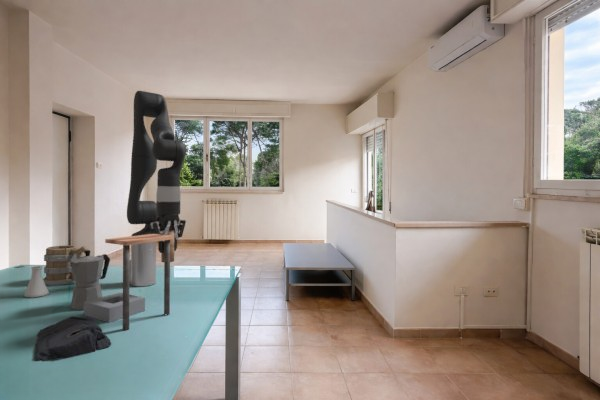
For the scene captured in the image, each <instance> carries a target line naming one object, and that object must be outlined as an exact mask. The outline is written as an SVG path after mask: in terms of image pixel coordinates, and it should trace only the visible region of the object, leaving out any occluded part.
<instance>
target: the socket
mask: <svg viewBox="0 0 600 400" xmlns="http://www.w3.org/2000/svg"><path fill="white" fill-rule="evenodd" d="M145 311H146V298H145V297H141V296H137V295H134V294H129V317H130V316H133V315H136V314H139V313H142V312H145ZM83 316H84V317H92V318H93V319H96V320H100V321H103V322H106V323H112V322H114V321H115V322H116V321H118V320H121V319H123V292H116V293H112V294H109V295H105V296H102V297H101V298H97V299H93V300H89V301H85V302H84V310H83Z"/></svg>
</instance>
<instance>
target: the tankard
mask: <svg viewBox="0 0 600 400" xmlns="http://www.w3.org/2000/svg"><path fill="white" fill-rule="evenodd" d="M86 250H89V249H88V248H87V247H86V246H81V247H79V248H78V246H77V245H71V244H69V245H67V244H66V245H54V246H49V247H47V248H46V249H45V254H44V255H43V261H44V262H45V266H44V267H43V273H44V274H45V277H43V280H44V283H45V285H46V286H64V285H69V284H70V285H71V284H75V281H74V279H73V274H72V268H71V266H69V265H68V264H69V263H70V261H71V260H74V259H76V258H80V257H83V254H85V251H86Z"/></svg>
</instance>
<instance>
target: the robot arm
mask: <svg viewBox="0 0 600 400" xmlns="http://www.w3.org/2000/svg"><path fill="white" fill-rule="evenodd" d="M144 117H146V118H154V119H153V120H152V122H151V124H150V133H151V136H150V134H149V133H148V131H147V128H146V125H145V119H144ZM151 137H152V138H151ZM131 146H132V149H131V157H130V158H131V161H130V166H131V167H130V183H129V185H130V186H129V191H128V192H129V193H128V199H127V206H126V219H127V222H128V223H129V224H130V225H144V227H143V228H141V229H140V230H138V231H136V232H134V233H132V234H131V236H138V235H147V234H160V235H162V234H163V235H167V234H168V231H175V235H174V252H176V251H177V249H178V240H179V239H180V238H182V237H183V233H184V232H185V231H184V230H185V227H186V222H187V221H186V220H185V219H180V216H179V215H181V195H182V194H181V187H180V186H181V173H182V172H181V171H182V168H183V163H184V160H185V157H186V155H187V148H186V145H185V143H184V141H181V140H176V136H175V133H174V131H173V129H172V126H171V123H170V117H169V110H168V105H167V101H166V98H165V97H164V96H163V95H162V94H159V93H156V92H155V93H154V92H149V91H145V90H137V91H136V92H135V93H134V97H133V136H132V145H131ZM158 161H161V162H163V161H164V162H172V165H171V166H169V167H163V168H159V170H157V165H158ZM156 170H157V171H156ZM156 172H157V187H156V188H157V189H156V202H155V201H154V200H141V195H142V192H143V190H144V188H145V186H146V185H147V183H148V182H149V181H150V180H151V179H152V177H153V175H154V174H155V173H156ZM162 231H164V232H162ZM157 242H158V247H157ZM157 250H158V252H159V253H160V254H161V253H165V240H163V241H156V242H149V243H141V244H134V245H130V273H129V285H130V286H133V287H148V286H152V285H155V284H156V281H157Z"/></svg>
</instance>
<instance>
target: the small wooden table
mask: <svg viewBox="0 0 600 400" xmlns="http://www.w3.org/2000/svg"><path fill="white" fill-rule="evenodd" d="M171 239H174V236H170V235H160V234H147V235H138V236H132V235H129V236H123V237H122V236H121V237H113V238H111V237H110V238H105V239H104V241H105V244H112V245H113V244H114V245H119V246H122V293H123V318H122V331H128V330H130V316H129V295H130V284H129V273H130V260H131V245H134V244H141V243H149V242H156V243H157V242H158V241H163V240H165V253H164V262H163V263H164V264H163V265H164V269H163V271H164V273H163V276H164V277H163V278H164V279H163V283H164V284H163V315H164V314H169V315H170V312H171V310H170V309H171V308H170V307H171V306H170V305H171V302H170V301H171V300H170V299H171V294H170V293H171V291H170V288H171V262H170V240H171Z"/></svg>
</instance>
